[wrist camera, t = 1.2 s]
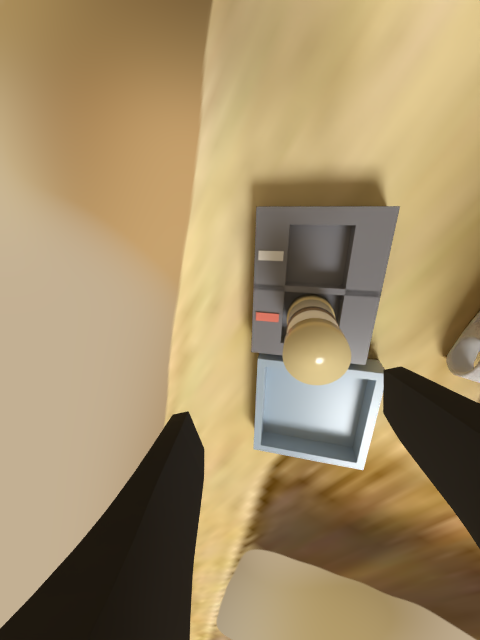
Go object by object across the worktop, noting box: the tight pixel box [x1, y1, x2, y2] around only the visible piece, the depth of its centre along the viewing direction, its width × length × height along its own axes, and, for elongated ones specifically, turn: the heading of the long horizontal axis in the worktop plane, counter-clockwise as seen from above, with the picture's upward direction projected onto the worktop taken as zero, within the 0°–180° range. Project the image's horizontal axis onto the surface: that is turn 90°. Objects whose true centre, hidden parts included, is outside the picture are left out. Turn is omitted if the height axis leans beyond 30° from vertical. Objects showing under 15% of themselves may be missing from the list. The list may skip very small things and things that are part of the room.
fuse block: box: [251, 206, 400, 365], centre depth 17 cm, size 8×10×2 cm
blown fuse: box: [283, 294, 351, 385], centre depth 15 cm, size 3×3×6 cm
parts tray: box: [254, 353, 385, 470], centre depth 20 cm, size 9×9×2 cm
